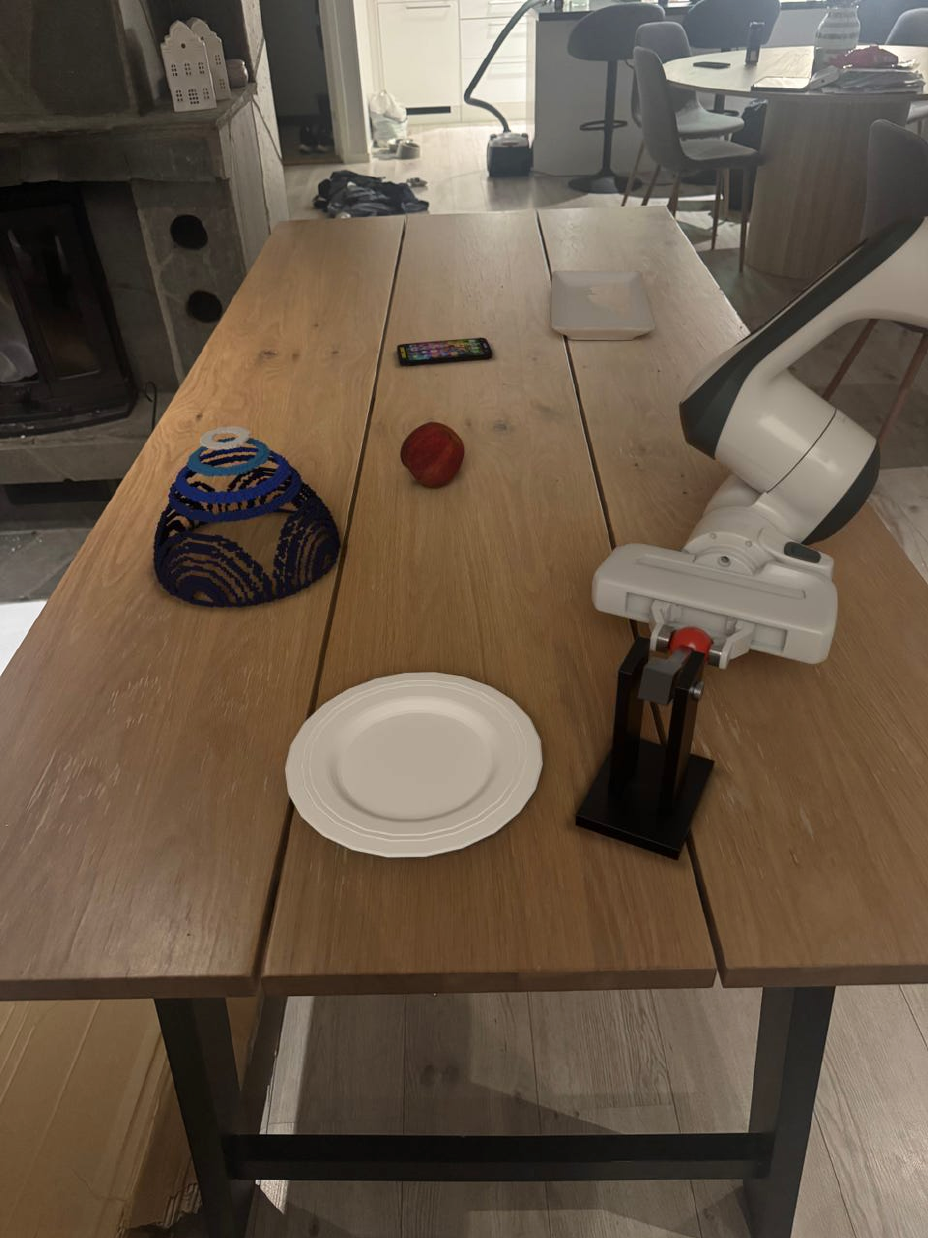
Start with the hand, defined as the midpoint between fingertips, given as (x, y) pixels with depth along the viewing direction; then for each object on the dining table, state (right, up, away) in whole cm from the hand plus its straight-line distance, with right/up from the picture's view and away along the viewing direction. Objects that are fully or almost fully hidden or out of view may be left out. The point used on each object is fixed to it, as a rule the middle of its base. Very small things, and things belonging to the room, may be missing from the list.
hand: (687, 653), depth 74 cm
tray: (+6, +56, +90) cm, 106 cm away
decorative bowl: (-42, +10, +30) cm, 52 cm away
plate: (-22, -10, +3) cm, 24 cm away
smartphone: (-21, +45, +77) cm, 92 cm away
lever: (-2, -2, -3) cm, 4 cm away
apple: (-22, +19, +42) cm, 51 cm away
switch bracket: (-4, -11, -1) cm, 12 cm away
